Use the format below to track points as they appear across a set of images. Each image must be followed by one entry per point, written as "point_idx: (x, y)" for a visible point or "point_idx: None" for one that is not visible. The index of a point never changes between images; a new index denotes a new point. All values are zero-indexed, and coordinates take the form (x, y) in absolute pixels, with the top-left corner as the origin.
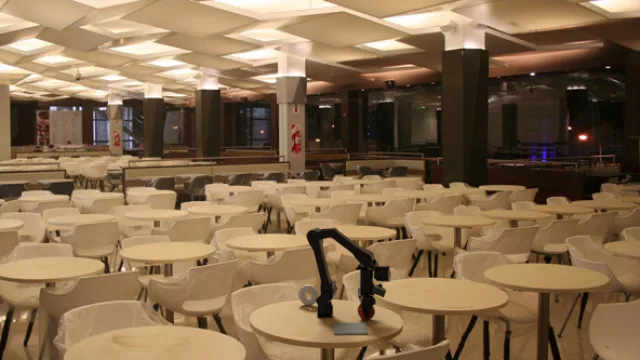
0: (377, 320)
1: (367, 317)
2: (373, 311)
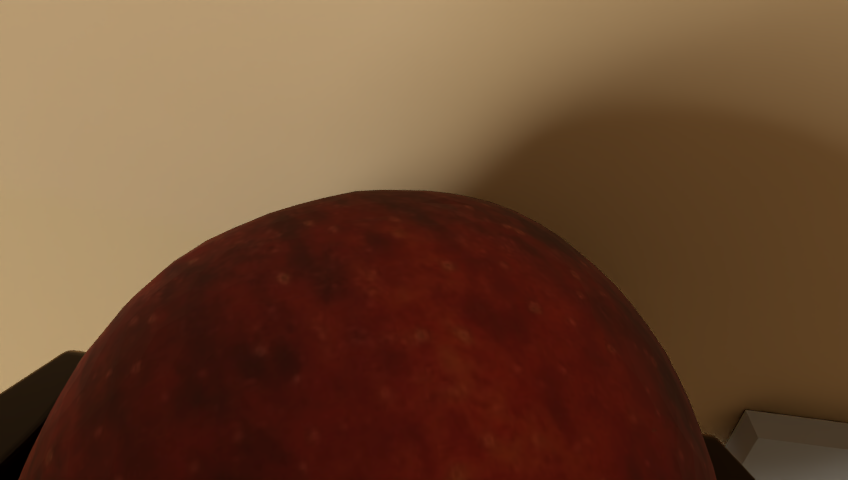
0: (562, 22)
1: None
2: (661, 407)
